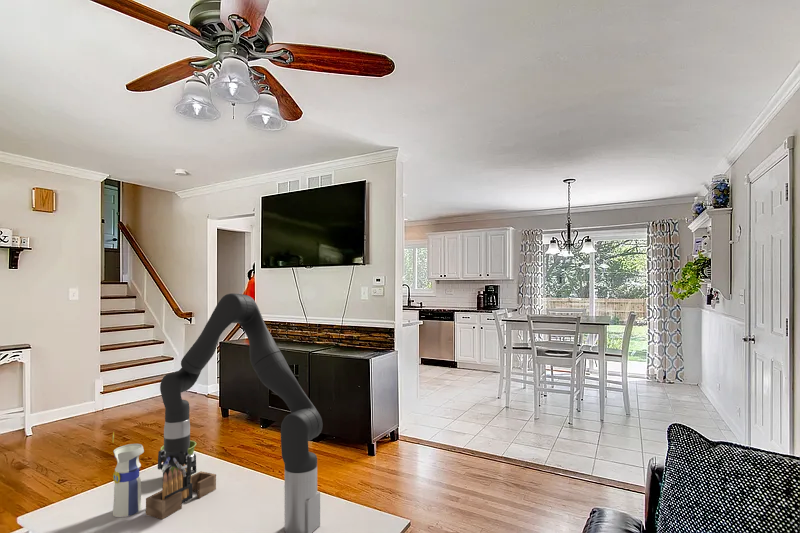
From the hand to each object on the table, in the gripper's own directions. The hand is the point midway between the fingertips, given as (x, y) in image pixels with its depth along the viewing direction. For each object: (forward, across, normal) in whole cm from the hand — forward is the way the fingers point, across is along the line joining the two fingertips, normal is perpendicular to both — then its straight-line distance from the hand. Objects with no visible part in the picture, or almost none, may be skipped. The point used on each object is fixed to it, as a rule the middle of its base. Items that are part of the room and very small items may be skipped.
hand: (176, 485), depth 141 cm
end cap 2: (+6, 0, -10) cm, 11 cm away
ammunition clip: (+6, 0, 0) cm, 6 cm away
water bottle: (+6, +11, +8) cm, 15 cm away
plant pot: (+6, +17, -16) cm, 24 cm away
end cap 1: (+6, 0, +5) cm, 8 cm away
